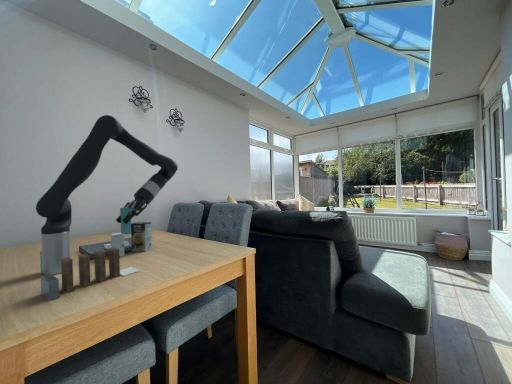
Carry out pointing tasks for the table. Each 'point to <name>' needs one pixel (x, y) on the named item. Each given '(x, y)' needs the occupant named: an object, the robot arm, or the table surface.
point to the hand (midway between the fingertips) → (121, 222)
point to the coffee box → (141, 236)
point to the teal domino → (124, 227)
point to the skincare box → (118, 242)
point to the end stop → (50, 287)
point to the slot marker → (128, 271)
